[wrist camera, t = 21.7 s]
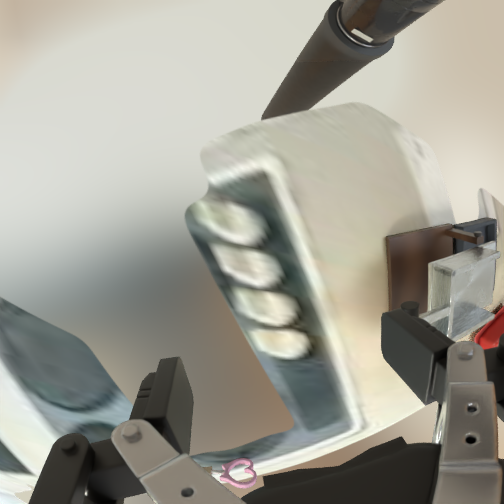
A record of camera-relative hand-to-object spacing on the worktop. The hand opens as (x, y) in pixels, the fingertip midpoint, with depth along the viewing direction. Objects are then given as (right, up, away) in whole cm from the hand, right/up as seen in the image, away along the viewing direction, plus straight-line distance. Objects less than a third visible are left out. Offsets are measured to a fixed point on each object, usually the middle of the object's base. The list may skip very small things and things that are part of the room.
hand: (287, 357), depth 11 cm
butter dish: (+49, -13, +39) cm, 64 cm away
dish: (+25, -1, +25) cm, 35 cm away
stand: (+25, +1, +33) cm, 42 cm away
